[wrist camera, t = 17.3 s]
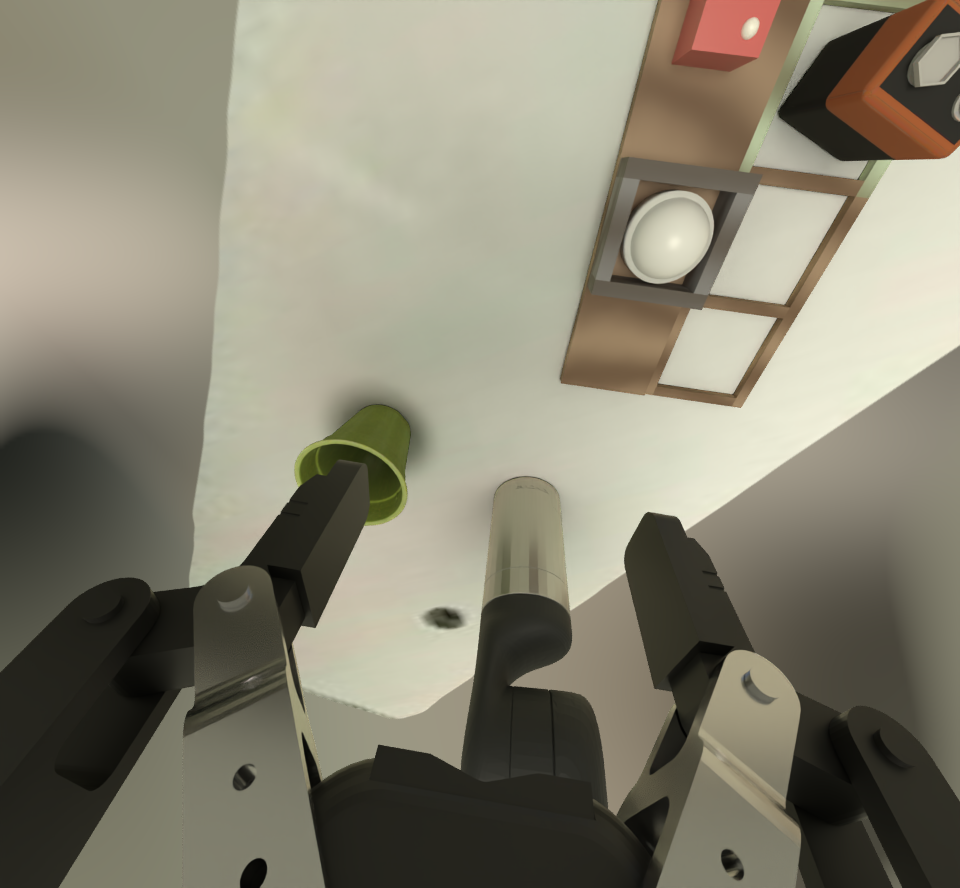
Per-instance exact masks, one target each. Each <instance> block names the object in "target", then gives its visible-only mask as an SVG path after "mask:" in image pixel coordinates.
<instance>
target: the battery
mask: <svg viewBox="0 0 960 888" xmlns="http://www.w3.org/2000/svg"><path fill="white" fill-rule="evenodd" d="M780 117H781V118H782V119H783V120H785V121H786V122H787V123H789V124H790V125H792V126H793V127H794V128H796V129H797V130H799V131H800V132H801V133H803V134H804V135H805V136H807V137H808V138H810V139H811V140H812V141H814V142H815V143H817V144H818V145H819V146H821V147H822V148H824V149H825V150H826V151H828V152H829V153H830V154H832V155H833V156H835V157H836V158H838V159H839V160H841V161H866V160H912V159H941V158H945V157H947V156H949V155H950V154H951V153H952V152H953V151H955V150H956V149H957V148H958V147H959V146H960V0H926V1H924V2H921V3H919V4H917V5H914V6H912V7H909V8H907V9H905V10H902V11H900V12H898V13H895V14H893V15H891V16H888V17H886V18H883V19H881V20H879V21H876V22H874V23H872V24H869V25H867V26H864V27H862V28H860V29H857V30H855V31H853V32H850V33H848V34H846V35H843V36H841V37H838V38H836V39H834V40H832V41H830V42H829V43H828V44H827V45H826V47H825V48H824V50H823V51H822V52H821V54H820V55H819V56H818V58H817V59H816V61H815V62H814V63H813V65H812V66H811V67H810V69H809V70H808V72H807V73H806V74H805V76H804V77H803V78H802V80H801V81H800V83H799V84H798V85H797V87H796V88H795V90H794V91H793V92H792V94H791V95H790V96H789V98H788V99H787V101H786V102H785V103H784V105H783V106H782V108H781V110H780Z"/></svg>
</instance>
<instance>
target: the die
mask: <svg viewBox="0 0 960 888" xmlns="http://www.w3.org/2000/svg"><path fill="white" fill-rule="evenodd" d="M780 1H781V0H690V2H689V6H688V9H687V12H686V16H685V19H684V23H683V26H682V29H681V33H680V36H679V40H678V43H677V46H676V50H675V53H674V57H673V60H672V64H673V65H681V66H689V67H696V68H704V69H712V70H720V71H728V72H730V71H732V70H735V69H737V68H739V67H741V66H743V65H745V64H747V63H749V62H751V61H753V60H755V59H757V58H759V55H760V53H761V50H762V48H763V45H764V43H765V40H766V37H767V35H768V32H769V30H770V27H771V25H772V22H773V19H774V17H775V14H776V12H777V9H778V7H779V4H780Z"/></svg>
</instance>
